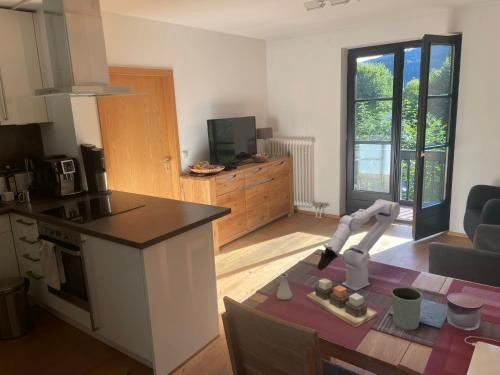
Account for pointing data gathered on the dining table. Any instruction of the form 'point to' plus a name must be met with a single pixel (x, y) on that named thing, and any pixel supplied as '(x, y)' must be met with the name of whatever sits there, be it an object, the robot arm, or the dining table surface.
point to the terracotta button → (340, 291)
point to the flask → (284, 289)
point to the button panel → (341, 306)
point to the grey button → (356, 300)
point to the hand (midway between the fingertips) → (320, 268)
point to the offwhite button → (325, 284)
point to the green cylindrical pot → (406, 307)
